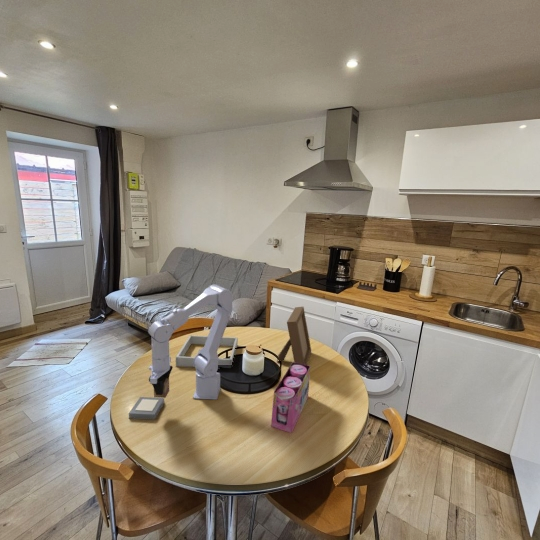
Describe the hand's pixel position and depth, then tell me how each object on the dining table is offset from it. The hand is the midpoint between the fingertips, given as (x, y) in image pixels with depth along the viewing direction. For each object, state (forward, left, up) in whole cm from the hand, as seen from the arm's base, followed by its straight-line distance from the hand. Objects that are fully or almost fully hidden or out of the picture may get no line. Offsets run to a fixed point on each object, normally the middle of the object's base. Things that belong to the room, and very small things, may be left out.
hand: (161, 390), depth 105 cm
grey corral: (-8, -43, -8) cm, 44 cm away
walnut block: (0, 0, -1) cm, 1 cm away
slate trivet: (+5, 0, -8) cm, 10 cm away
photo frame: (-51, -42, -9) cm, 66 cm away
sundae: (-33, -28, -9) cm, 44 cm away
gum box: (-47, -4, -9) cm, 48 cm away
